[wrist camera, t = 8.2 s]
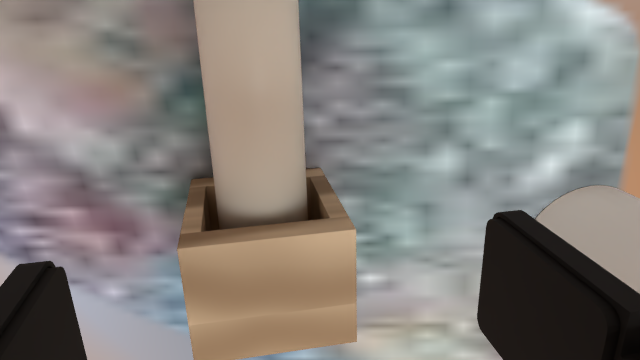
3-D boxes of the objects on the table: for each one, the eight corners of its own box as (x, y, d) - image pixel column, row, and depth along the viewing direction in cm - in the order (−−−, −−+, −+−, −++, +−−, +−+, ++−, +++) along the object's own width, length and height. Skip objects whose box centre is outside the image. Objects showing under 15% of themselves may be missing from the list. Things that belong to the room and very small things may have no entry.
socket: (191, 179, 26) (177, 248, 18) (320, 167, 27) (355, 229, 19) (203, 269, 28) (194, 365, 20) (323, 255, 29) (356, 341, 21)
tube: (181, -92, 20) (168, -118, 16) (291, -92, 21) (307, -117, 16) (218, 233, 25) (217, 279, 21) (305, 224, 26) (320, 266, 22)
